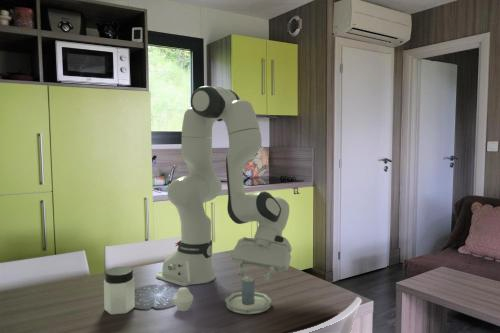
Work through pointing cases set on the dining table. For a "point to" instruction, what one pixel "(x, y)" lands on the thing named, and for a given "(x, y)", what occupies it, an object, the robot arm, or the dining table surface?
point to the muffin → (183, 299)
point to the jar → (119, 290)
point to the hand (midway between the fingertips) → (252, 277)
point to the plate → (259, 305)
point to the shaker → (248, 290)
